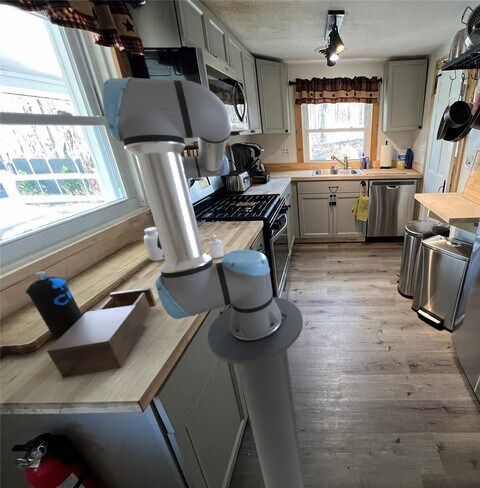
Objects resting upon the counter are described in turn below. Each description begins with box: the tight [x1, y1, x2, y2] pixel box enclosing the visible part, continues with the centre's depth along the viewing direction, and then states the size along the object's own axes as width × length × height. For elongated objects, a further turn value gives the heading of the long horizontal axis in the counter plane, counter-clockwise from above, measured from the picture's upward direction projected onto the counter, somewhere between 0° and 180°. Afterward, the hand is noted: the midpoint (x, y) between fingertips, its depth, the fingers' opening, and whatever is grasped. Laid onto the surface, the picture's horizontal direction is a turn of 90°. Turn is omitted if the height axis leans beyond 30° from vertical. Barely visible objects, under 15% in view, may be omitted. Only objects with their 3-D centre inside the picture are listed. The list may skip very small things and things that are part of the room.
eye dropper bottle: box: [208, 232, 225, 259], centre depth 122 cm, size 4×6×12 cm
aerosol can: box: [25, 270, 83, 339], centre depth 76 cm, size 8×8×20 cm
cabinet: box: [46, 305, 146, 379], centre depth 69 cm, size 15×13×9 cm
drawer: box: [97, 287, 157, 322], centre depth 82 cm, size 18×12×7 cm, turn 12°
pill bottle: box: [143, 226, 165, 262], centre depth 123 cm, size 8×8×15 cm
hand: (176, 265), depth 89 cm, fingers closed on bottle, 5 cm apart
